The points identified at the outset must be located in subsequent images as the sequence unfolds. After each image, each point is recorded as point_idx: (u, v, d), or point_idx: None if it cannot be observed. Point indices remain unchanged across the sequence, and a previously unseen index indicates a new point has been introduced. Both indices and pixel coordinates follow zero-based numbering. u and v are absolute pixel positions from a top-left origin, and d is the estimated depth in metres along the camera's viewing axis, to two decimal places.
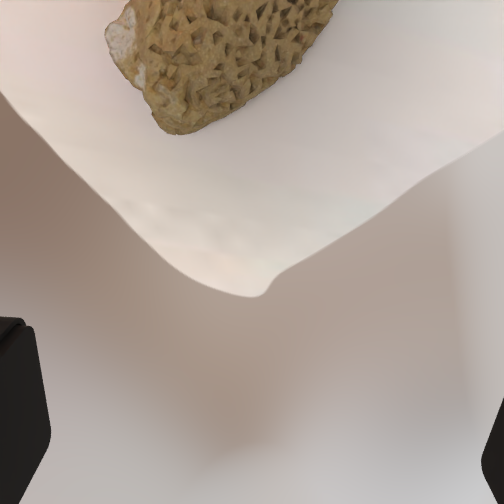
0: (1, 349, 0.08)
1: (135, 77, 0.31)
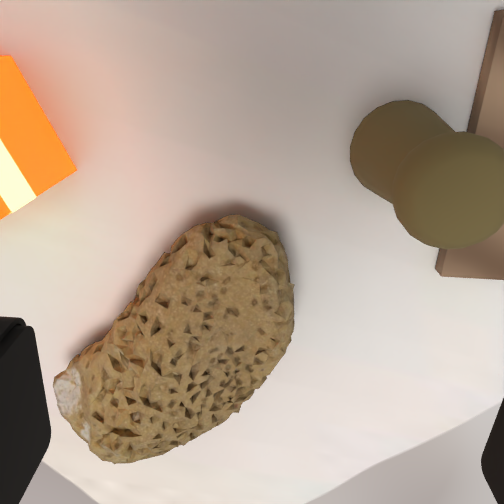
0: (1, 349, 0.08)
1: (81, 431, 0.33)
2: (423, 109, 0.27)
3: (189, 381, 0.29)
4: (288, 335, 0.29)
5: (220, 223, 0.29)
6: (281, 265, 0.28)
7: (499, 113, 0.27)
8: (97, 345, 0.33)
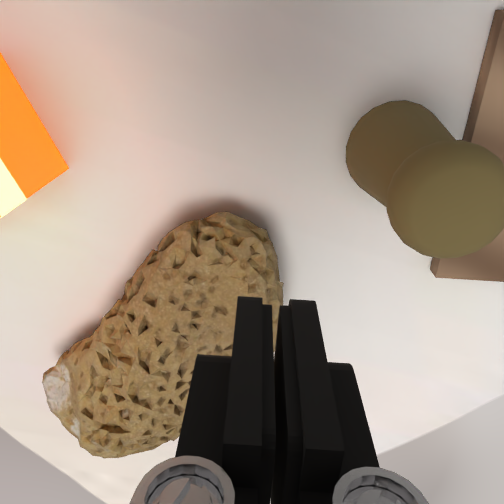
0: (267, 323, 0.09)
1: (71, 426, 0.33)
2: (420, 111, 0.26)
3: (178, 379, 0.29)
4: None
5: (208, 221, 0.28)
6: (270, 263, 0.27)
7: (497, 115, 0.27)
8: (86, 342, 0.32)
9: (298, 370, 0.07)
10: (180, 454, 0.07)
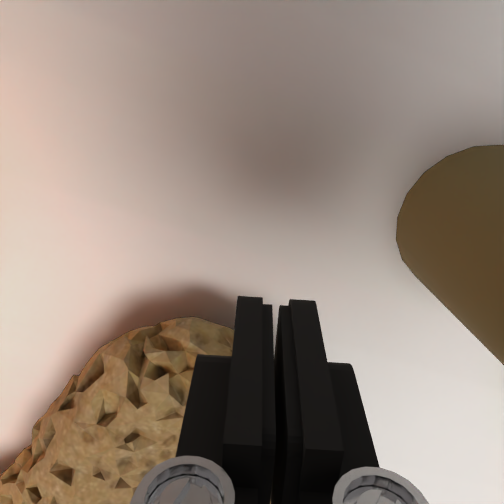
0: (266, 323, 0.09)
1: None
2: None
3: None
4: None
5: (161, 335, 0.17)
6: None
7: None
8: None
9: (298, 370, 0.07)
10: (180, 454, 0.07)
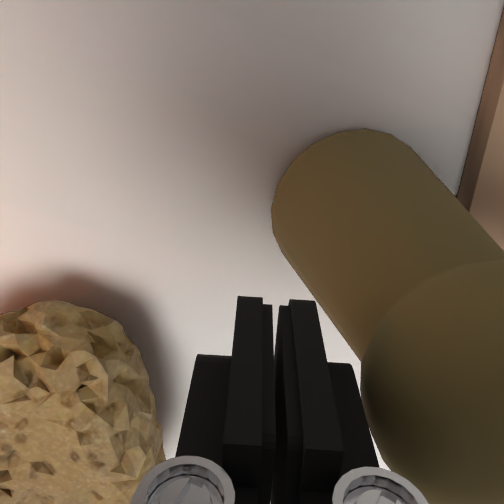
0: (266, 323, 0.09)
1: None
2: (396, 151, 0.15)
3: None
4: None
5: (19, 318, 0.17)
6: (118, 391, 0.16)
7: None
8: None
9: (298, 370, 0.07)
10: (180, 454, 0.07)
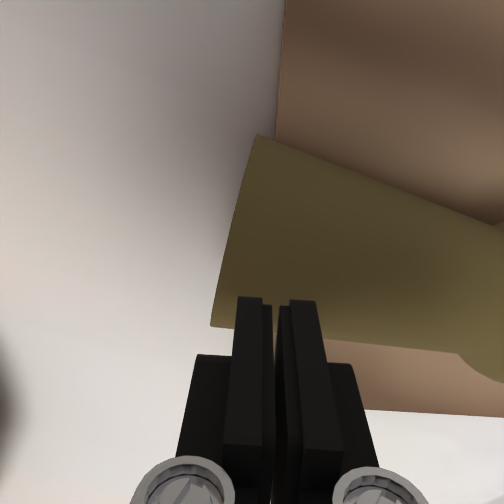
0: (266, 323, 0.09)
1: None
2: None
3: None
4: None
5: None
6: None
7: None
8: None
9: (298, 370, 0.07)
10: (180, 454, 0.07)
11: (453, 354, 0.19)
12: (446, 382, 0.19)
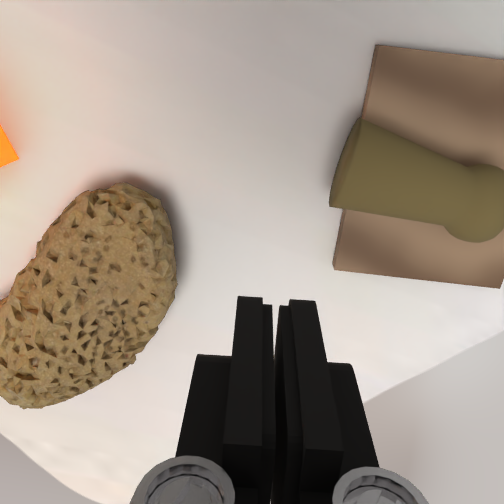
0: (267, 323, 0.09)
1: None
2: None
3: (79, 329, 0.33)
4: (168, 291, 0.33)
5: (107, 189, 0.32)
6: (158, 227, 0.32)
7: None
8: (6, 299, 0.36)
9: (298, 370, 0.07)
10: (180, 454, 0.07)
11: (444, 244, 0.35)
12: (440, 261, 0.35)
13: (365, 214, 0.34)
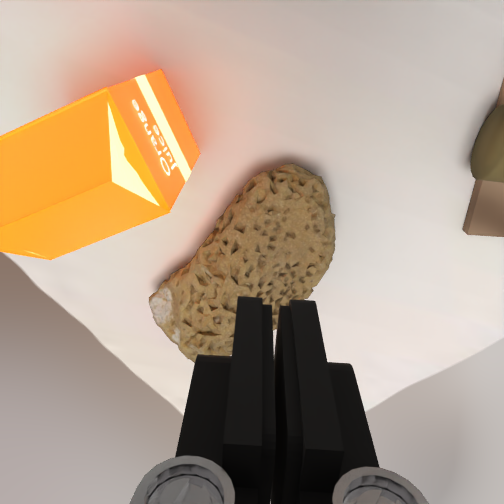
0: (267, 323, 0.09)
1: (172, 335, 0.43)
2: None
3: (258, 289, 0.40)
4: (331, 253, 0.39)
5: (279, 170, 0.38)
6: (326, 199, 0.38)
7: None
8: (183, 270, 0.43)
9: (298, 370, 0.07)
10: (180, 454, 0.07)
11: None
12: None
13: (498, 185, 0.40)
